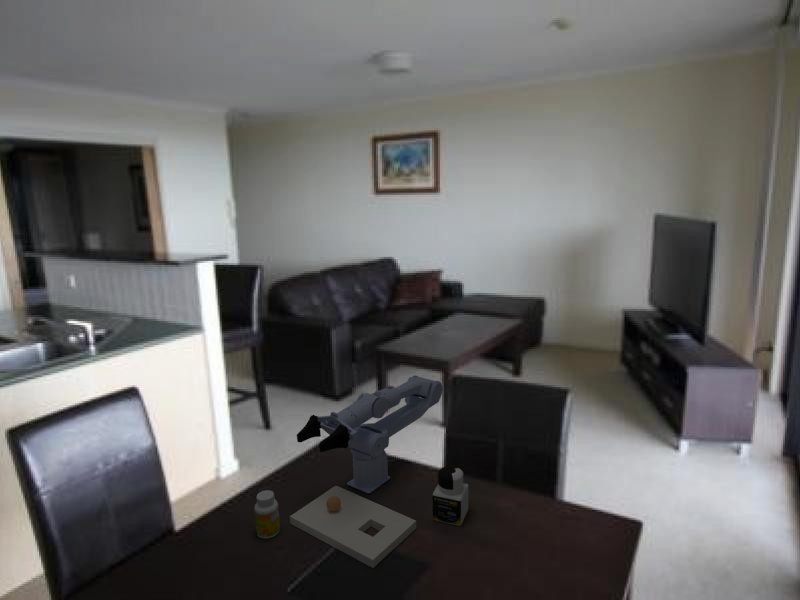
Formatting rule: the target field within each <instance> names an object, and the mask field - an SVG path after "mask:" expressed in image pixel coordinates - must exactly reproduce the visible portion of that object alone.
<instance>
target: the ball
mask: <svg viewBox="0 0 800 600" xmlns="http://www.w3.org/2000/svg"><path fill="white" fill-rule="evenodd" d="M326 505H327V508H328V509H329V510H330V511H336V510H338V509H339V508H340V505H341V501H340V499H339V498H338V497H337V496H331V497H329V498H328V500H327V503H326Z"/></svg>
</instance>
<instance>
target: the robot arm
mask: <svg viewBox="0 0 800 600" xmlns="http://www.w3.org/2000/svg"><path fill="white" fill-rule="evenodd" d="M443 391H444V389H443V384H442V382H441V381H439V380H434V379H430V378H425V377H420V376H419V375H412V376H410V377H408V379H407V381H406V382H404V383H401V384H400V385H398V386H396V387H395V386H393V385H390V384H388V385H385V388H382V389H380V390H375V391H374V392H372V393H368V392H365V393H364V392H362V393H361V394H359V395H358V397H357V399H356V400H355V401H353V402H352V404H350V405H349V406H347V407H345V408H343V409H342V410H339V411H338V412H335V411H331V412H330V415H321V416H319V415H315V414H312V415H310V417H309V418H308V421H307V423H306V424H305V425H304V426H303V427H302V428H301V429H300V430H299V432H298V433H297V434H296V440H297V443H304V442H306V441H308V440H310V439H312V438H319V437H321V429H322V431H324V432H326V433H327V434H328V436H326V437H325V438H324V439H323V440H321V441H320V442H319V443H318V448H319V452H320V453H324V452H327V451H330V450H335V449H347V448H349V449H350V453H351V454H352V470H353V478H352V479H351V480H349V481H348V482H346V483H347V484H346V485H347V486H350V487H351V488H354V489H355V490H356V489H357V490H359V491H360V492H363V493H365V494H367V495H370V494H371V493H373V492H374V491H375V490H377V489H378V488H379V487H381V486H382V485H383V484H384V483H386V482H387V481H389V480H390V479H391V476H390V475H389V470H388V469H389V467H388V454H387V452H386V450H385V449H387V448H388V447H389V444H390V438H391V437H393V436H394V435H396V434H397V433H399V432H400V431H402V430H403V429H405V428H407V427H408V426H410V425H411V424H413V423H415V422H416V421H418V420H419V419H421V418H422V416H424V415H425V413H427V411H428V410H429V409H430V408H432V407H434V406H435V405H436V404H438V403H439V402H440V400H441V397H442V394H443ZM402 399H404V403H405V405H403V406H401V407H399V408H397V409H396V410H394V411H393V412H391V413H390V414H388V415H386V416H385V414H386V412H388V410H390V409H392V408H394V407H397V406H398V405H399V404H400V403H401V400H402ZM372 418H373V419H379V420H377V421H375V422H373V423H372V422H371V423H367V422H368V421H369V420H371V419H372Z"/></svg>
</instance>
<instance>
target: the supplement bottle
mask: <svg viewBox="0 0 800 600" xmlns="http://www.w3.org/2000/svg"><path fill="white" fill-rule="evenodd" d="M253 509H254V516H255V517H254V518H255V529H256V535H257V537H258V538H260V539H271V538H274V537H275V536H277V535H278V534H279V533H280V530H281V525H280V513H279V502H278V501H277V499H275V493H274V491H273V490H270V489H269V490H262V491H260V492H258V493H257V495H256V503H255V505H254V508H253Z"/></svg>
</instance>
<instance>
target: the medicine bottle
mask: <svg viewBox="0 0 800 600" xmlns="http://www.w3.org/2000/svg"><path fill="white" fill-rule="evenodd" d="M468 512H469V484H468V483H464V471H462V470H461V468H459V467H457V466H452V465H449V466H448V465H447V466H444V467H441V468H440V469H439V470H438V472H437V486H436V487H435V490H434V491H433V493H432V520H433V521H436V522H440V523H445V524H449V525H454V526H459V527H462V524H463V522H464V520H465V518H466V516H467V513H468Z"/></svg>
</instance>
